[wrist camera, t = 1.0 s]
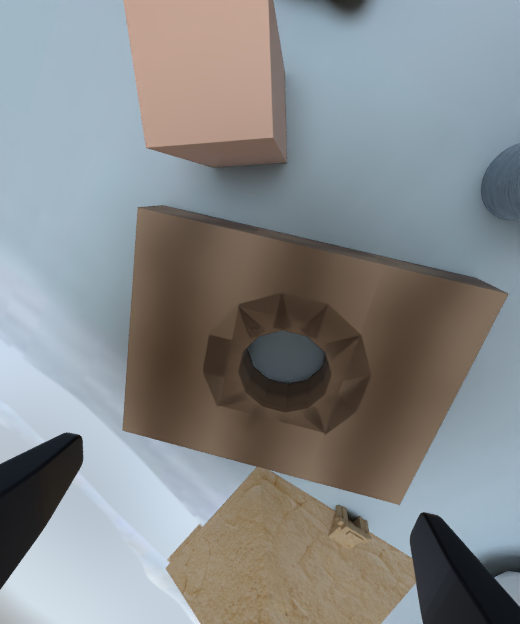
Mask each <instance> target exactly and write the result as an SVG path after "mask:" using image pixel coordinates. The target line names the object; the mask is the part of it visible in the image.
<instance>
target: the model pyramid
mask: <svg viewBox="0 0 520 624" xmlns="http://www.w3.org/2000/svg"><path fill="white" fill-rule="evenodd" d="M167 561H168V562H169V563H170V564H169V565H168V566H167V567H166V570H167V571H168V573H169V575H170V576H171V578H172V579H173V581H174V582H175V584H176V586H177V587H178V589H179V590H180V592H181V593H182V595H183V597H184V598H185V600H186V601H187V603H188V604H189V606H190V608H191V609H192V611H193V612H194V614H195V615H196V617H197V619H198V620H199V622H200V623H201V624H381V623H382V622H383V621H384V619H385V618H386V617H387V616H388V615H389V614H390V612H391V611H392V610H393V609H394V608H395V607H396V605H397V604H398V603H399V602H400V601H401V600H402V598H403V597H404V596H405V595H406V594H407V593H408V591H409V590H410V589H411V588H412V587H413V586H414V584H415V583H416V579H415V572H414V566H413V559H412V558H411V557H409V556H408V555H406V554H404V553H403V552H401V551H399V550H398V549H396V548H395V547H393V546H391V545H390V544H388V543H386V542H385V541H383V540H382V539H380V538H378V537H377V536H375V535H373V534H372V533H370V532H369V529H368V524H367V521H366V520H364V519H362V518H361V517H360V516H359V517H358V518H357V519H356V520H355V521H353V522H352V521H351V520H349V519H348V516H347V509H346V508H345V507H343V506H342V507H341V506H340V505H337V506H336V511H334V510H333V509H331V508H330V507H328V506H326V505H325V504H323V503H321V502H320V501H318V500H317V499H315V498H313V497H312V496H310V495H309V494H307V493H305V492H304V491H302V490H300V489H299V488H297V487H296V486H294V485H292V484H291V483H289V482H287V481H286V480H284V479H283V478H281V477H279V476H278V475H276V474H274V473H273V472H271V471H270V470H268V469H264V468H260V467H257V468H256V469H255V470H254V471H253V472H252V473H251V474H250V475H249V476H248V478H247V479H246V480H245V481H244V482H243V483H242V484H241V485H240V486H239V488H238V489H237V490H236V491H235V492H234V493H233V494H232V495H231V496H230V497H229V499H228V500H227V501H226V502H225V503H224V504H223V505H222V506H221V507H220V509H219V510H218V511H217V512H216V513H215V514H214V515H213V516H212V517H211V519H210V520H209V521H208V522H207V523H206V524H205V525H204V526H203V527H202V526H201V525H200V524H199V525H198V526H197V527H196V528H195V529H194V530H193V532H192V533H191V534H190V535H189V536H188V537H187V538H186V539H185V540H184V541H183V543H182V544H181V545H180V546H179V547H178V548H177V549H176V550H175V552H174V553H173V554H172V555H171V556H170V557H169V558H168V559H167Z"/></svg>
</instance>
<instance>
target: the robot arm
mask: <svg viewBox="0 0 520 624" xmlns="http://www.w3.org/2000/svg"><path fill="white" fill-rule="evenodd" d="M82 462H83V440H82V437H81V436H80V435H77V434H73V433H63V434H61V435H59V436H57V437H55V438H53V439H51V440H49V441H47V442H45V443H42V444H40V445H38V446H36V447H34V448H32V449H30V450H28V451H26V452H24V453H22V454H20V455H18V456H16V457H14V458H12V459H10V460H8V461H6V462H3V463H1V464H0V589H1V588H2V586H3V585H4V584H5V582H6V581H7V580H8V578H9V577H10V575H11V574H12V572H13V571H14V570H15V568H16V567H17V566H18V564H19V563H20V561H21V560H22V559H23V557H24V556H25V554H26V553H27V552H28V550H29V549H30V548H31V546H32V545H33V543H34V542H35V541H36V539H37V538H38V536H39V535H40V533H41V532H42V531H43V529H44V528H45V526H46V525H47V523H48V521H49V520H50V518H51V517H52V515H53V513H54V512H55V510H56V508H57V506H58V505H59V503H60V501H61V500H62V498H63V496H64V495H65V493H66V491H67V490H68V488H69V486H70V485H71V483H72V481H73V479H74V478H75V476H76V474H77V473H78V471H79V469H80V467H81V465H82ZM410 546H411V553H412V559H413V566H414V572H415V579H416V585H417V591H418V598H419V604H420V610H421V615H422V620H423V624H520V606H519V605H518V604H517V603H516V602H515V601H514V599H513V598H512V597H511V596H510V595H509V594H508V593H507V592H506V590H505V589H504V588H503V587H502V586H501V585H500V584H499V582H498V581H497V580H496V579H495V578H494V577H493V576H492V575H491V573H490V572H489V571H488V570H487V569H486V568H485V567H484V565H483V564H482V563H481V562H480V561H479V560H478V559H477V558H476V556H475V555H474V554H473V553H472V552H471V551H470V550H469V549H468V547H467V546H466V545H465V544H464V543H463V542H462V541H461V539H460V538H459V537H458V536H457V535H456V534H455V533H454V532H453V530H452V529H451V528H450V527H449V526H448V525H447V524H446V522H445V521H444V520H443V519H442V518H441V517H439V516H438V515H434V514H430V513H425V512H423V513H421V514H420V515H419V517H418V519H417V521H416V523H415V526H414V528H413V530H412V532H411V535H410Z"/></svg>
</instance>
